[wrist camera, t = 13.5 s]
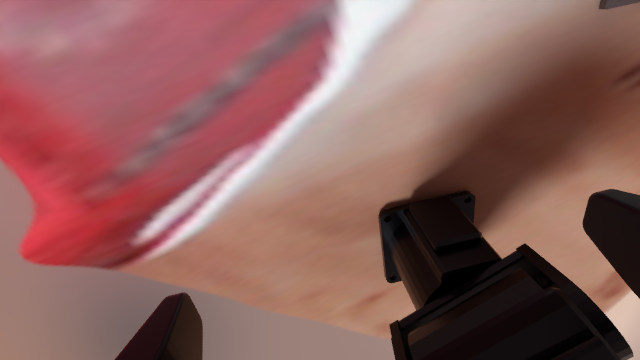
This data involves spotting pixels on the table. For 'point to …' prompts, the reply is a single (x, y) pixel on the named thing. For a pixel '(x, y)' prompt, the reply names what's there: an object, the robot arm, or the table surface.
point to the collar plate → (615, 3)
